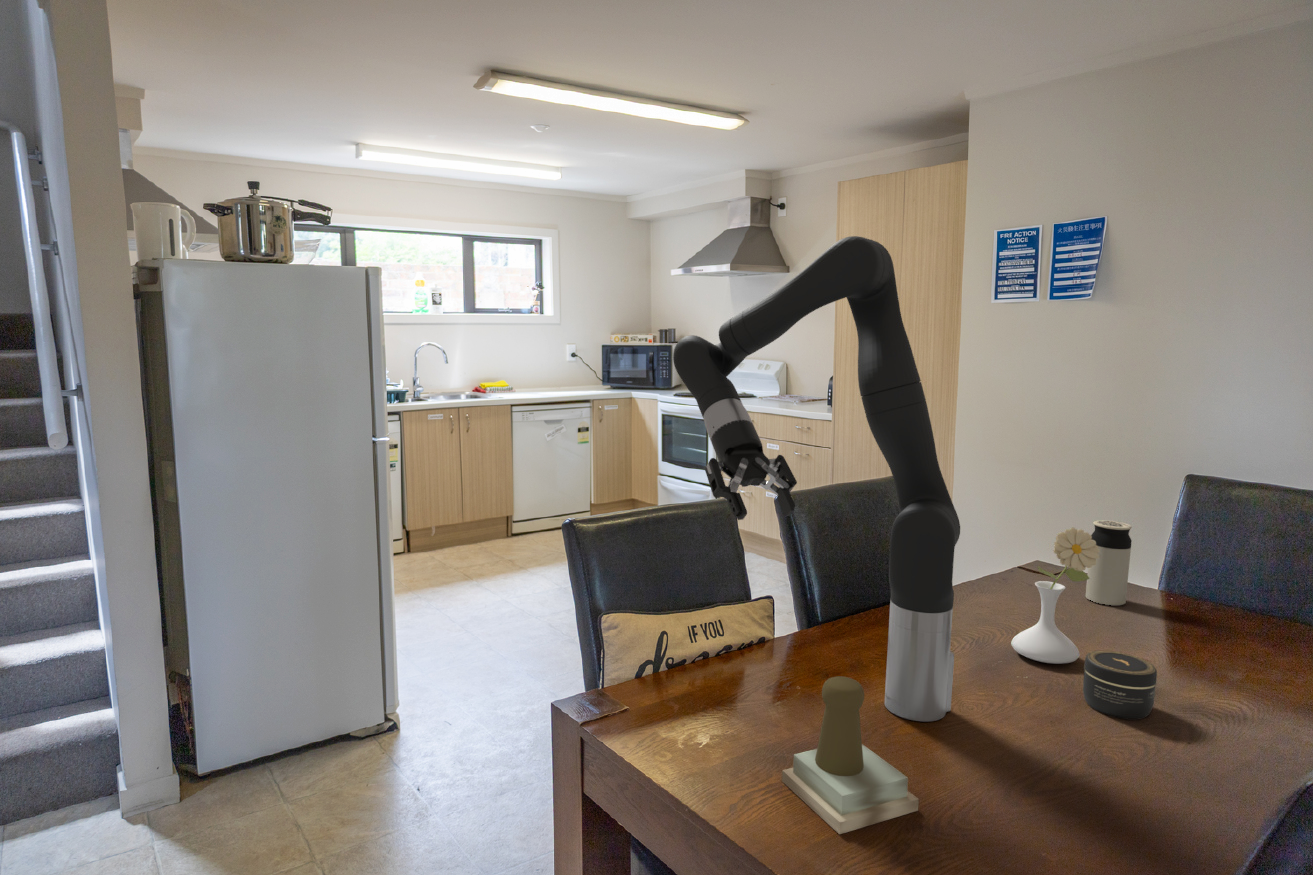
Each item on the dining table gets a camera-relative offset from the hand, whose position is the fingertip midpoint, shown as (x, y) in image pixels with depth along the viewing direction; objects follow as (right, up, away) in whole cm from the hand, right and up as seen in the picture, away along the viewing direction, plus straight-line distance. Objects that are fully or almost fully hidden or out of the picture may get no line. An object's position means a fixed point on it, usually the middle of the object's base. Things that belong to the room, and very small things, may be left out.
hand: (767, 515), depth 119 cm
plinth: (+7, -34, -21) cm, 40 cm away
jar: (+57, -32, +5) cm, 65 cm away
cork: (+6, -30, -20) cm, 37 cm away
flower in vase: (+56, -29, +24) cm, 68 cm away
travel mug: (+86, -26, +58) cm, 106 cm away
